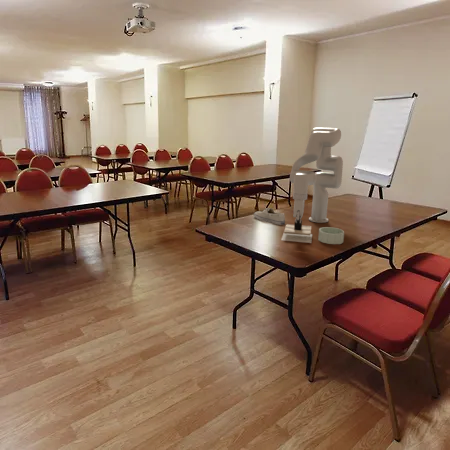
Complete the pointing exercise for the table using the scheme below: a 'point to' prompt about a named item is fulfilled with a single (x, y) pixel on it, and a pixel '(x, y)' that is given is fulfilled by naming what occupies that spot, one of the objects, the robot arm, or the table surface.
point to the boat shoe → (270, 216)
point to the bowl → (331, 235)
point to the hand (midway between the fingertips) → (298, 228)
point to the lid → (291, 230)
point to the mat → (297, 238)
